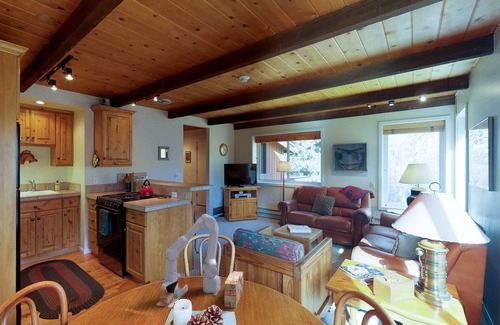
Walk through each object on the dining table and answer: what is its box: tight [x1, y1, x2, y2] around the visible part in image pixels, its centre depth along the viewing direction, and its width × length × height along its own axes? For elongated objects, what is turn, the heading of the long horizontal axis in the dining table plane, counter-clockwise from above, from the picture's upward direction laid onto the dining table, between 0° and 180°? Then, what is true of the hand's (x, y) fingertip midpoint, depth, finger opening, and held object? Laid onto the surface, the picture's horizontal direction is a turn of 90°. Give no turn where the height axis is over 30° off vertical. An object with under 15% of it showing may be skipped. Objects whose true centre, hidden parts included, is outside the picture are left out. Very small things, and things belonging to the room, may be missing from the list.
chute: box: [155, 282, 190, 308], centre depth 124 cm, size 9×18×4 cm, turn 167°
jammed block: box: [159, 291, 173, 307], centre depth 118 cm, size 5×5×4 cm
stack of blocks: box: [223, 270, 244, 309], centre depth 127 cm, size 21×6×12 cm, turn 172°
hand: (170, 296), depth 121 cm, fingers closed
